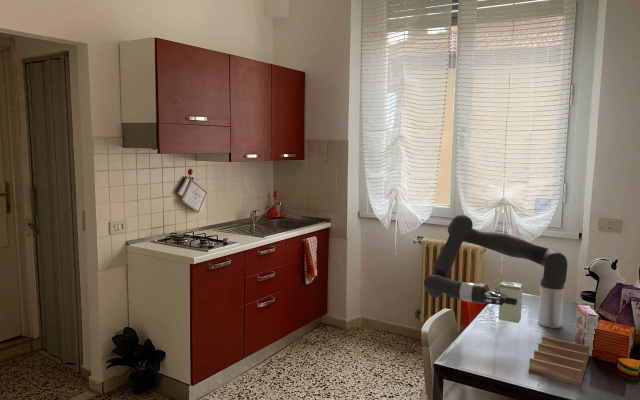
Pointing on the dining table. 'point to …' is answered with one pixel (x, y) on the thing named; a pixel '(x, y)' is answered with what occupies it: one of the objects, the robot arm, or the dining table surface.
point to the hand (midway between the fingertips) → (517, 300)
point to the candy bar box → (586, 326)
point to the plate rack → (560, 360)
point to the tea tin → (508, 310)
